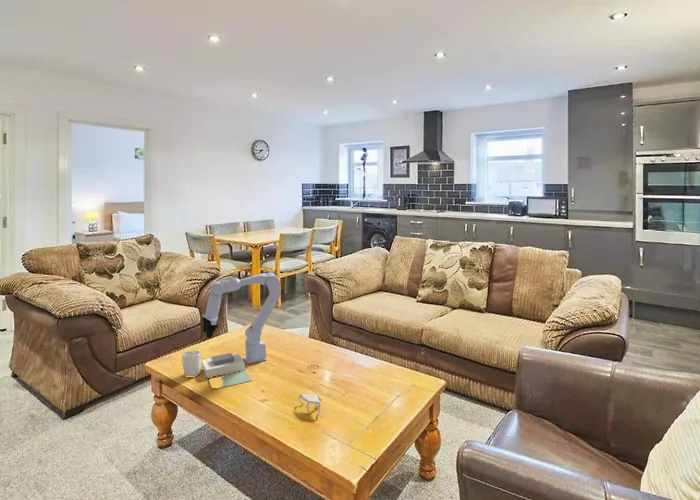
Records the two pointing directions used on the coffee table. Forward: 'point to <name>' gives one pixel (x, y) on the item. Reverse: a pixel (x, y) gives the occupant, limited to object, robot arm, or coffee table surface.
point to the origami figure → (311, 400)
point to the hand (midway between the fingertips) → (207, 334)
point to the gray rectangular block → (222, 359)
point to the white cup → (191, 363)
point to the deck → (223, 366)
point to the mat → (235, 378)
